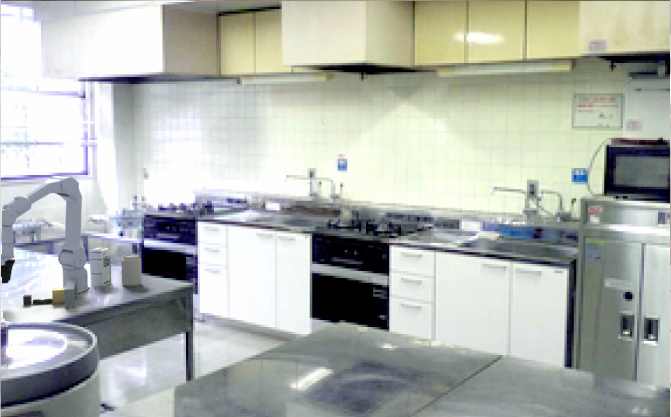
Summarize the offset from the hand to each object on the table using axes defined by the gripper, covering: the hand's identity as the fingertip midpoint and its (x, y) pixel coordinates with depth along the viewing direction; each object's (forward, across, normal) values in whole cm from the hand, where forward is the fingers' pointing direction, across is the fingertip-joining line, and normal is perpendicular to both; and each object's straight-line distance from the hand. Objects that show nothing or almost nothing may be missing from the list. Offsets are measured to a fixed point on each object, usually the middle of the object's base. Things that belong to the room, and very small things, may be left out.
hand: (5, 281), depth 230 cm
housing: (+8, 0, +21) cm, 23 cm away
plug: (+8, 0, +12) cm, 15 cm away
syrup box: (+9, -26, +30) cm, 40 cm away
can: (+9, -22, +42) cm, 48 cm away
